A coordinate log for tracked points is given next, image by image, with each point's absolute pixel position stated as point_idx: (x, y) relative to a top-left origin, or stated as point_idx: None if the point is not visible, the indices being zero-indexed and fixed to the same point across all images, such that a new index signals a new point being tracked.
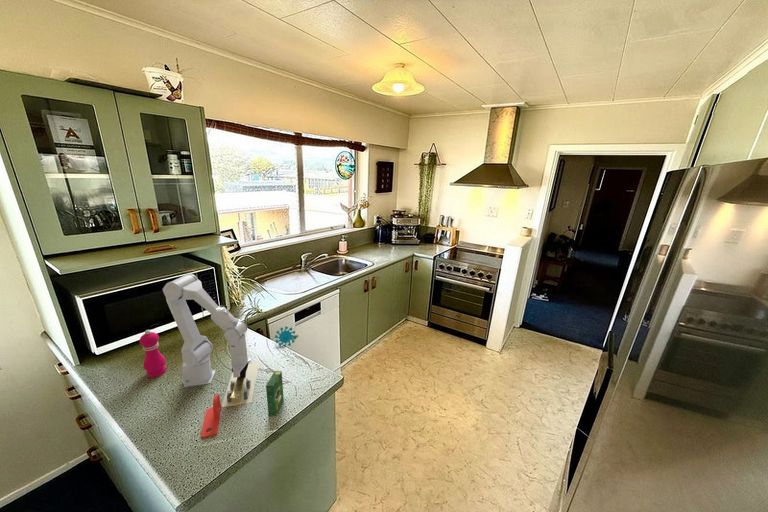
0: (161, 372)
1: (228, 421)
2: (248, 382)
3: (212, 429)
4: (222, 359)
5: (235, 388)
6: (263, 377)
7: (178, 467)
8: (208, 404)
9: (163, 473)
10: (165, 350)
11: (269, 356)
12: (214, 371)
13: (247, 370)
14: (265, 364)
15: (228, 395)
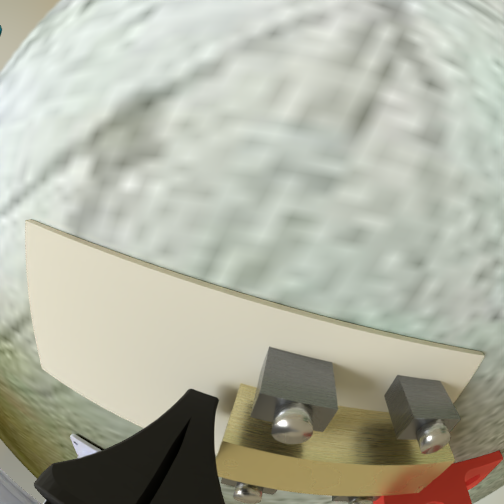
0: None
1: (483, 436)
2: (321, 414)
3: (478, 474)
4: (13, 380)
5: (349, 490)
6: (205, 206)
7: (491, 486)
8: (311, 501)
9: (477, 500)
10: (16, 446)
11: (2, 143)
12: (80, 442)
13: (77, 323)
14: (47, 172)
15: (373, 497)
